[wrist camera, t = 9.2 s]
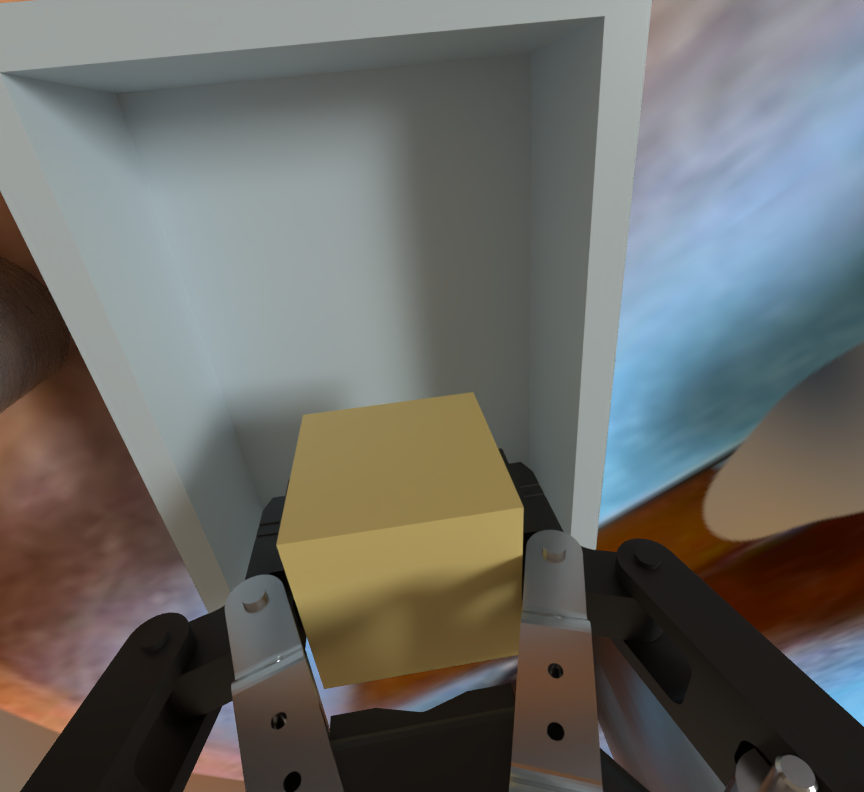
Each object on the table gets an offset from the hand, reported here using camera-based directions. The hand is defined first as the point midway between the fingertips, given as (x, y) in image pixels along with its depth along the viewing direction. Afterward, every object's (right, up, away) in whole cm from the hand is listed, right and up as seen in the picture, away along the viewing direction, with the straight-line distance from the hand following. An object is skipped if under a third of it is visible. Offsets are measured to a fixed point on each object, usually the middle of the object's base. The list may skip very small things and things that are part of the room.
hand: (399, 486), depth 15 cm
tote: (-1, +5, +4) cm, 7 cm away
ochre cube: (0, 0, +1) cm, 1 cm away
